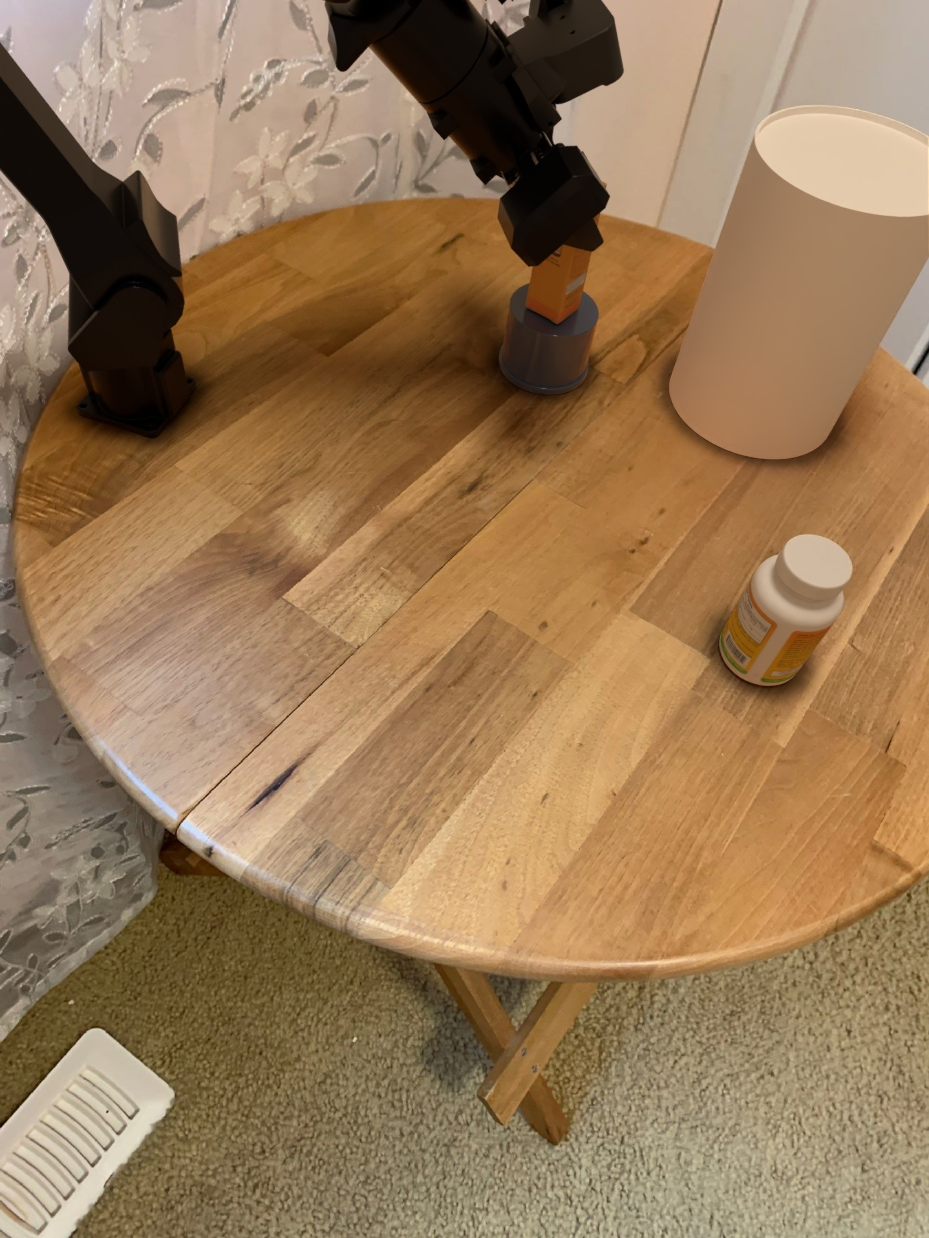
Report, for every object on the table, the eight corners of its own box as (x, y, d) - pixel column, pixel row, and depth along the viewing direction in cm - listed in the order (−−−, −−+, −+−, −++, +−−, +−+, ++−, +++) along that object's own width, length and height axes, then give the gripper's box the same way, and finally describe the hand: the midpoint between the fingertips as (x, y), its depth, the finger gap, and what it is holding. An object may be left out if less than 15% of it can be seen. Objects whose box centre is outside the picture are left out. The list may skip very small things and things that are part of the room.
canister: (669, 336, 77) (749, 92, 61) (824, 361, 77) (946, 123, 60) (668, 443, 69) (760, 196, 53) (841, 471, 69) (986, 232, 53)
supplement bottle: (806, 639, 59) (873, 545, 51) (788, 701, 56) (857, 612, 48) (728, 607, 60) (782, 511, 52) (707, 667, 57) (761, 574, 49)
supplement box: (583, 308, 69) (612, 182, 61) (557, 327, 67) (583, 201, 59) (548, 288, 70) (573, 163, 62) (522, 307, 68) (543, 180, 60)
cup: (574, 405, 71) (588, 348, 66) (486, 379, 72) (494, 321, 67) (599, 343, 76) (614, 286, 71) (517, 319, 76) (526, 262, 72)
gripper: (612, 21, 44) (738, 222, 55) (513, -113, 54) (637, 79, 65) (445, 183, 49) (592, 337, 60) (383, 31, 59) (519, 187, 70)
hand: (587, 227), depth 64 cm, fingers open, 4 cm apart
